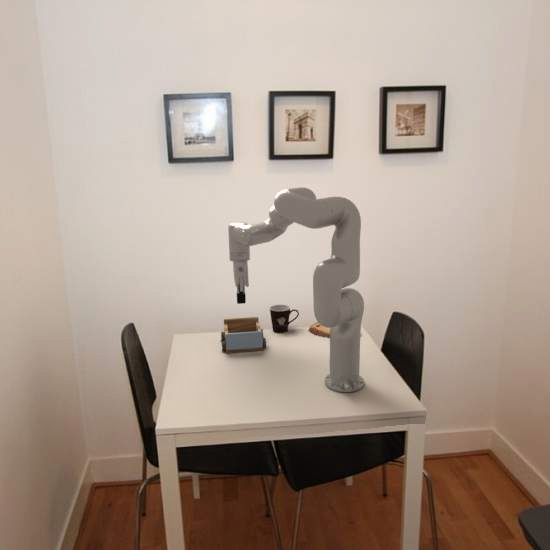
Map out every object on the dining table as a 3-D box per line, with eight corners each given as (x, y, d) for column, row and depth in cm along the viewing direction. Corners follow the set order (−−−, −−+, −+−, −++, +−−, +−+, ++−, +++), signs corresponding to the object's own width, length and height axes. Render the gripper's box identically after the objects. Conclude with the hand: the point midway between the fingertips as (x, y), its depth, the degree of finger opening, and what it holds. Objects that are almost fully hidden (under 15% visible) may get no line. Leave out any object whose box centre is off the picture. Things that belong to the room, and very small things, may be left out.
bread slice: (363, 337, 191) (364, 328, 190) (324, 344, 185) (324, 335, 184) (342, 322, 207) (342, 314, 206) (305, 329, 201) (304, 320, 200)
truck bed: (266, 350, 179) (266, 330, 177) (222, 353, 177) (221, 333, 175) (262, 334, 195) (261, 316, 193) (221, 337, 193) (220, 319, 191)
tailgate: (262, 347, 177) (262, 331, 176) (226, 349, 175) (225, 334, 174) (262, 346, 178) (261, 330, 177) (226, 348, 176) (225, 333, 175)
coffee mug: (267, 333, 196) (266, 310, 194) (273, 325, 204) (273, 304, 202) (294, 335, 193) (294, 312, 191) (299, 328, 201) (299, 305, 199)
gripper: (251, 259, 167) (252, 308, 172) (248, 251, 182) (249, 296, 186) (230, 260, 166) (232, 309, 171) (228, 252, 181) (230, 297, 185)
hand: (241, 302), depth 179 cm, fingers closed
